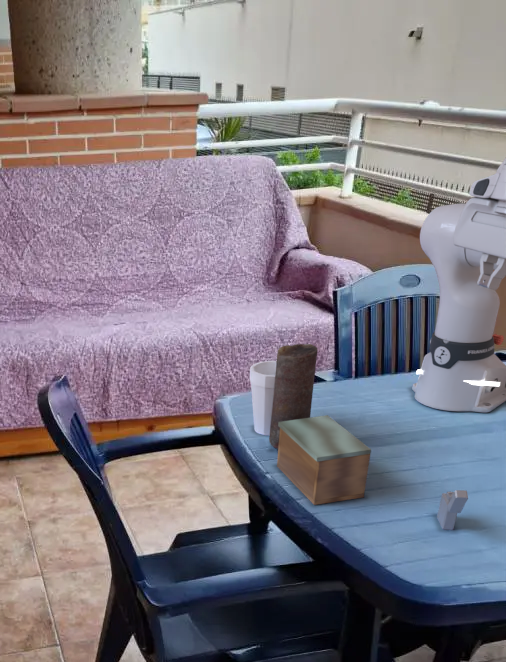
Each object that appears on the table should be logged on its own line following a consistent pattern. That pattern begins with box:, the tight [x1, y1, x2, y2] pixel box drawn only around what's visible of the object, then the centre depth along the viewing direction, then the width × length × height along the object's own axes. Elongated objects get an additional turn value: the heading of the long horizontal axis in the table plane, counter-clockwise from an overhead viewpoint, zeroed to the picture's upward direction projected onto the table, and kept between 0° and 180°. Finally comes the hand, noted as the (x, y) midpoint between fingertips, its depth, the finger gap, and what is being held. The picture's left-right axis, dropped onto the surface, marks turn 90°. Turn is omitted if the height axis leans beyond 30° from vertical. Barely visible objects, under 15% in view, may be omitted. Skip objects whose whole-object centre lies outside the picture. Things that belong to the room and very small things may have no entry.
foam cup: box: [249, 360, 277, 437], centre depth 150 cm, size 10×9×13 cm
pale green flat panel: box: [278, 414, 372, 462], centre depth 129 cm, size 10×16×1 cm, turn 12°
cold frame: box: [276, 428, 371, 506], centre depth 131 cm, size 9×16×8 cm, turn 12°
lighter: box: [436, 489, 469, 531], centre depth 116 cm, size 7×2×8 cm, turn 171°
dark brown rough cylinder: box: [268, 343, 319, 450], centre depth 141 cm, size 8×7×20 cm
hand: (486, 287), depth 116 cm, fingers closed
